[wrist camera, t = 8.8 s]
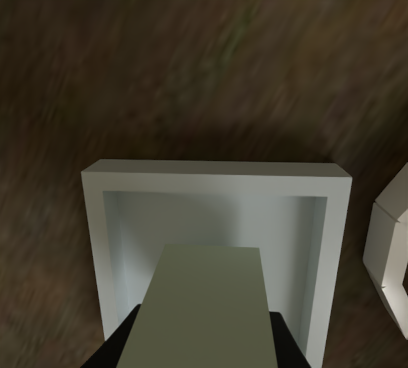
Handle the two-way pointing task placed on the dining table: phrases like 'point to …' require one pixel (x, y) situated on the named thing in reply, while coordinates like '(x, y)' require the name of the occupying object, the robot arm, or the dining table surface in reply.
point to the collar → (390, 248)
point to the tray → (221, 230)
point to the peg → (203, 312)
